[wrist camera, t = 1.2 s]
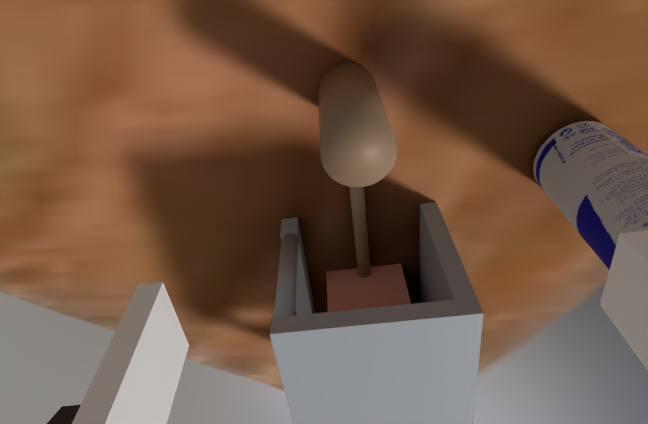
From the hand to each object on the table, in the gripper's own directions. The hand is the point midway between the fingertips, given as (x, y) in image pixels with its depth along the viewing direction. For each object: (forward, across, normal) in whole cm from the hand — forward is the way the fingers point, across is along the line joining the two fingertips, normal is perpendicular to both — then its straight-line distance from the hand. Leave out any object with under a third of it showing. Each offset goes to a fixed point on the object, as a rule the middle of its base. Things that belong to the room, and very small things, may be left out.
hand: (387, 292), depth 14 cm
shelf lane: (+18, 0, -16) cm, 25 cm away
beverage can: (+19, +15, -6) cm, 25 cm away
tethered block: (+18, 0, -9) cm, 21 cm away
